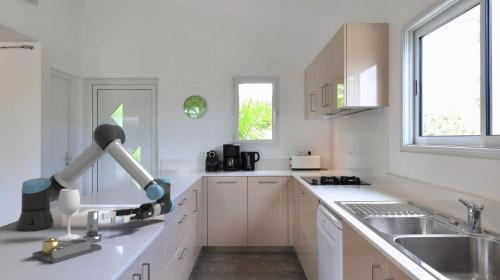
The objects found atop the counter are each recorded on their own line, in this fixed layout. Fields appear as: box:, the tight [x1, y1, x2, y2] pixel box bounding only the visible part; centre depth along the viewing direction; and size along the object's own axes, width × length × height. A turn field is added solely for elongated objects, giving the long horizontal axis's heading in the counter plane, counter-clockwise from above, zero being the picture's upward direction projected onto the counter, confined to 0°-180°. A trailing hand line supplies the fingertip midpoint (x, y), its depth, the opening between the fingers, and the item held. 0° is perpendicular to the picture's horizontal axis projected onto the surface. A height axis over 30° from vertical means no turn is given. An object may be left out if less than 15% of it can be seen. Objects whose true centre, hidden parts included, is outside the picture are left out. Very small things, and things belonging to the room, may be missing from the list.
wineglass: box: [56, 187, 81, 242], centre depth 137 cm, size 9×9×21 cm
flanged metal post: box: [82, 210, 102, 244], centre depth 134 cm, size 7×7×12 cm
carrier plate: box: [31, 237, 102, 265], centre depth 118 cm, size 14×18×6 cm
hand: (112, 218), depth 142 cm, fingers open, 13 cm apart
